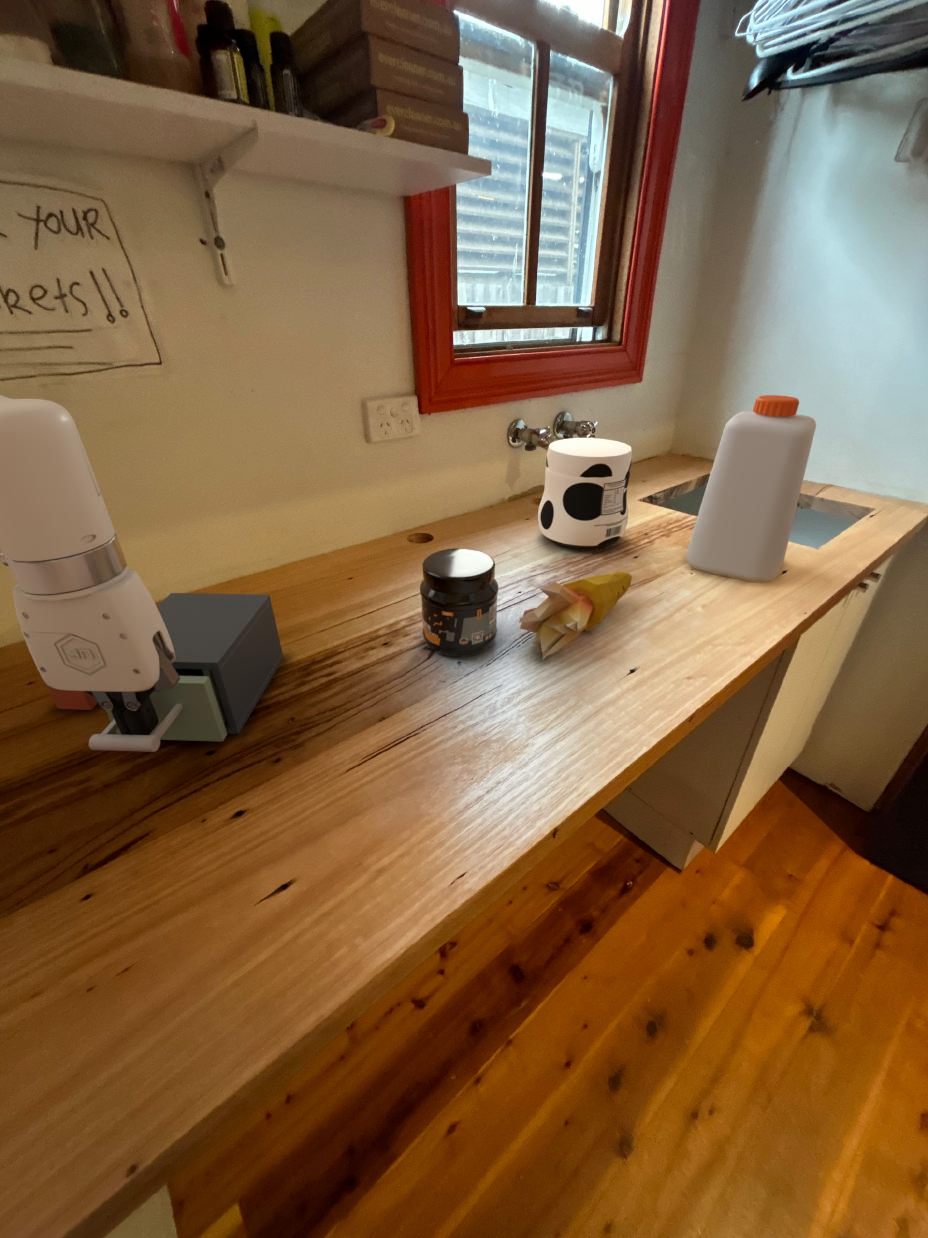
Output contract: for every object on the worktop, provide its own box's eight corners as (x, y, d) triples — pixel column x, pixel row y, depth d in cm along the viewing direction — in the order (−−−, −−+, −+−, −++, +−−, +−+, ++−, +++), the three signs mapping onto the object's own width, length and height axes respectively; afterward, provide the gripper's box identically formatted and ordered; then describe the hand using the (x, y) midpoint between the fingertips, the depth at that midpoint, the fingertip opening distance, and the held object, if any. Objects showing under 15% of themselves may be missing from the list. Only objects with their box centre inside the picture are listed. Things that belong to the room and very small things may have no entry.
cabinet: (238, 734, 60) (217, 662, 55) (128, 731, 60) (96, 660, 55) (283, 658, 72) (269, 594, 67) (191, 656, 73) (171, 592, 68)
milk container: (546, 519, 117) (552, 434, 108) (628, 528, 112) (641, 439, 103) (527, 549, 103) (532, 454, 94) (619, 561, 98) (634, 462, 89)
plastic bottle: (678, 568, 95) (715, 400, 81) (699, 540, 106) (734, 388, 92) (773, 589, 88) (831, 409, 74) (784, 557, 99) (837, 394, 84)
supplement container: (416, 625, 79) (412, 550, 73) (485, 615, 82) (485, 542, 75) (431, 665, 71) (426, 584, 64) (506, 653, 73) (509, 574, 67)
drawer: (194, 787, 52) (171, 726, 48) (80, 783, 53) (47, 722, 49) (268, 667, 69) (256, 614, 65) (181, 665, 70) (163, 612, 66)
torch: (623, 618, 88) (536, 670, 70) (589, 584, 90) (497, 626, 73) (655, 584, 82) (570, 631, 65) (619, 549, 85) (527, 585, 67)
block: (57, 709, 64) (43, 681, 62) (80, 687, 67) (67, 660, 65) (91, 710, 64) (78, 682, 61) (113, 688, 67) (101, 660, 65)
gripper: (-58, 584, 41) (43, 759, 50) (133, 586, 40) (198, 763, 49) (18, 545, 47) (94, 706, 57) (183, 546, 46) (232, 709, 56)
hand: (142, 732), depth 53 cm, fingers closed
